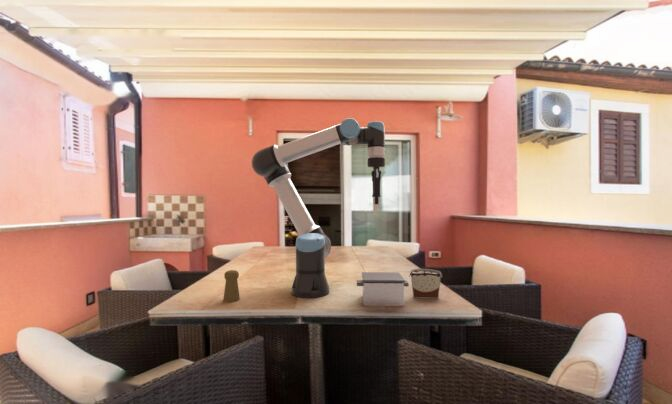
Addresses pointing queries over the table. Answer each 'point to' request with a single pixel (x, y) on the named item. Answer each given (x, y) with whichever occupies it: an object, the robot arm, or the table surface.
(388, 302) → the rectangular cooking pot
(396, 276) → the pot lid
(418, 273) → the food container
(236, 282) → the cork
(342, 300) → the table surface
